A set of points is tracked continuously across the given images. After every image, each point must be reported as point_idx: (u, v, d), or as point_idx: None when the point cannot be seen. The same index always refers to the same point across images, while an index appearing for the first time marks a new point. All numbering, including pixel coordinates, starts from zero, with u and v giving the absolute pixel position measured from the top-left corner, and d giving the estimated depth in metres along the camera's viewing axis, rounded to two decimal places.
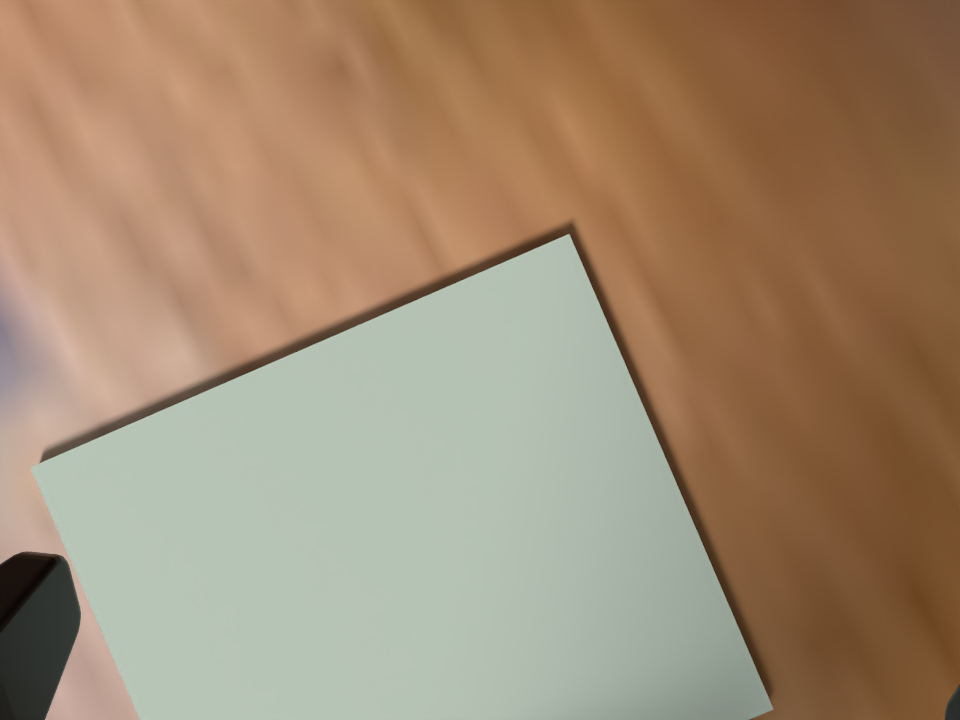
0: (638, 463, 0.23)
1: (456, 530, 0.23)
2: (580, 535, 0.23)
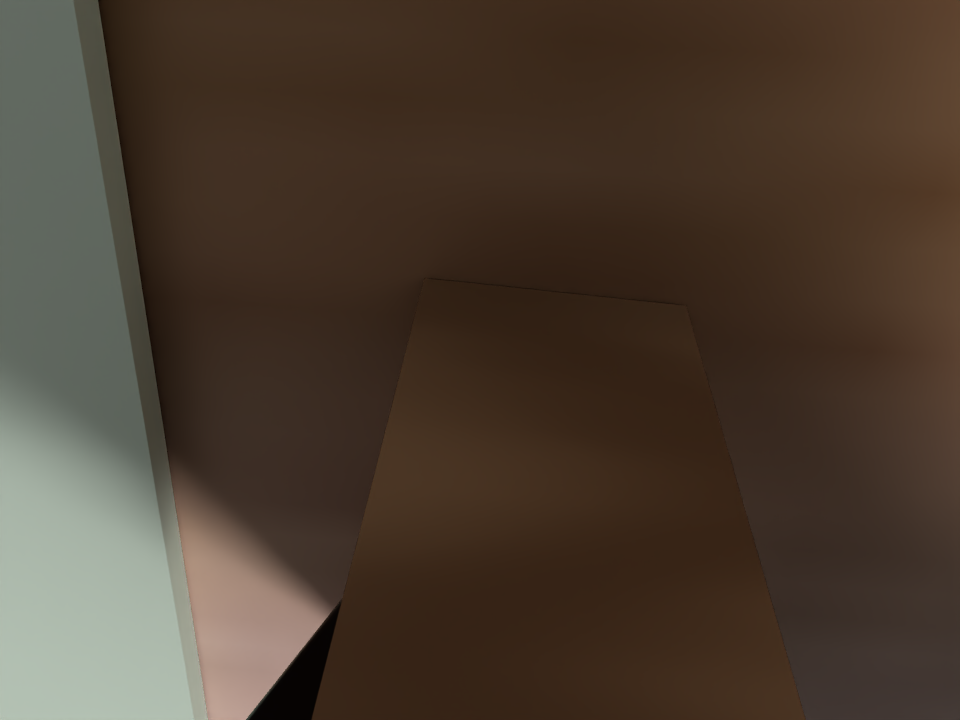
0: None
1: None
2: None
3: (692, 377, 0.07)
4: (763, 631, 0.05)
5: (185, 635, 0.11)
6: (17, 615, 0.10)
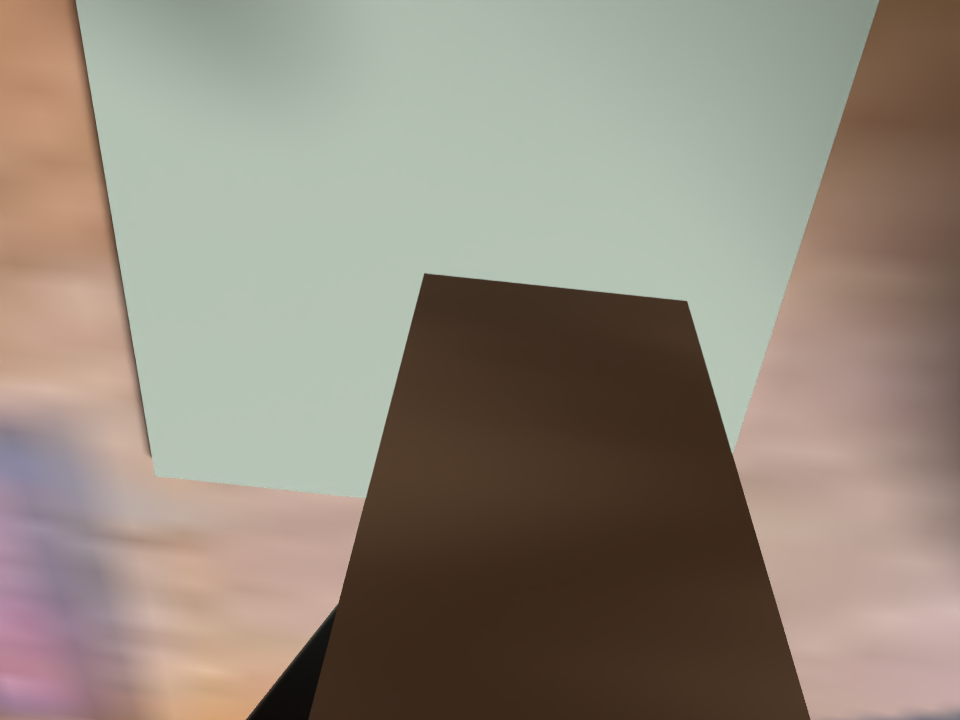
0: None
1: (414, 105, 0.16)
2: None
3: (693, 372, 0.07)
4: (765, 626, 0.05)
5: None
6: None
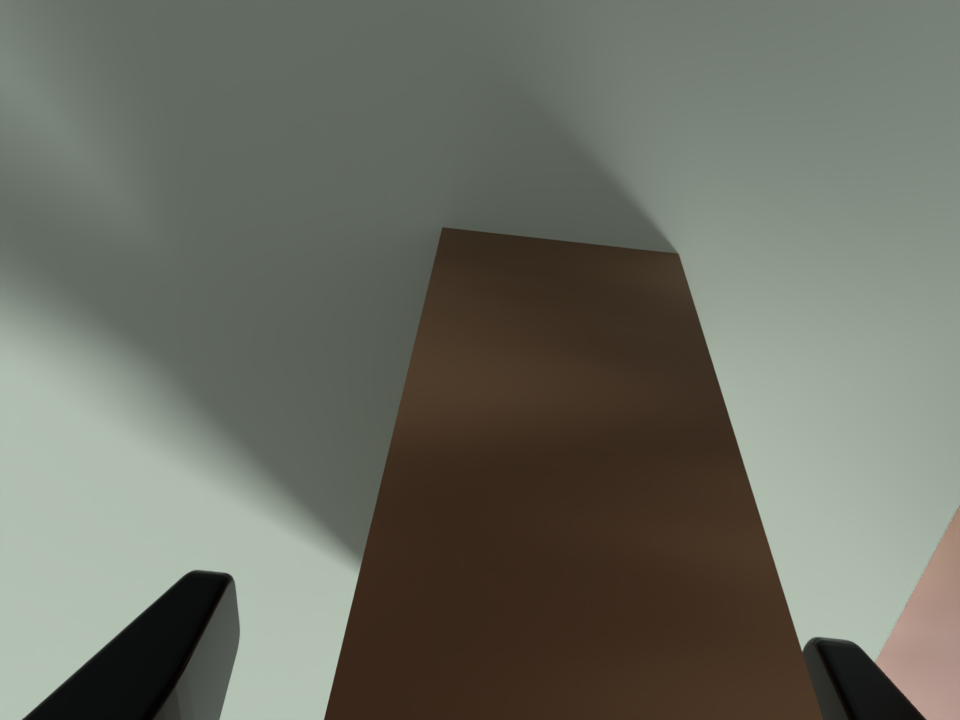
0: None
1: (331, 301, 0.09)
2: (485, 32, 0.08)
3: (684, 311, 0.08)
4: (741, 501, 0.06)
5: None
6: None
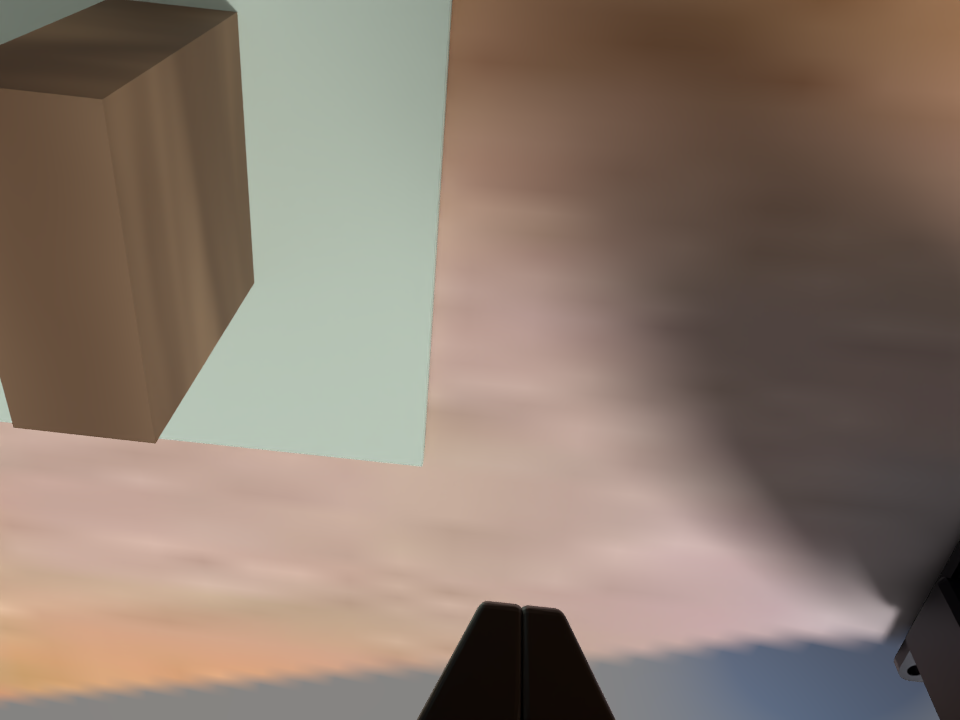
0: None
1: None
2: None
3: (211, 25, 0.15)
4: (158, 59, 0.13)
5: (433, 275, 0.20)
6: (345, 259, 0.19)
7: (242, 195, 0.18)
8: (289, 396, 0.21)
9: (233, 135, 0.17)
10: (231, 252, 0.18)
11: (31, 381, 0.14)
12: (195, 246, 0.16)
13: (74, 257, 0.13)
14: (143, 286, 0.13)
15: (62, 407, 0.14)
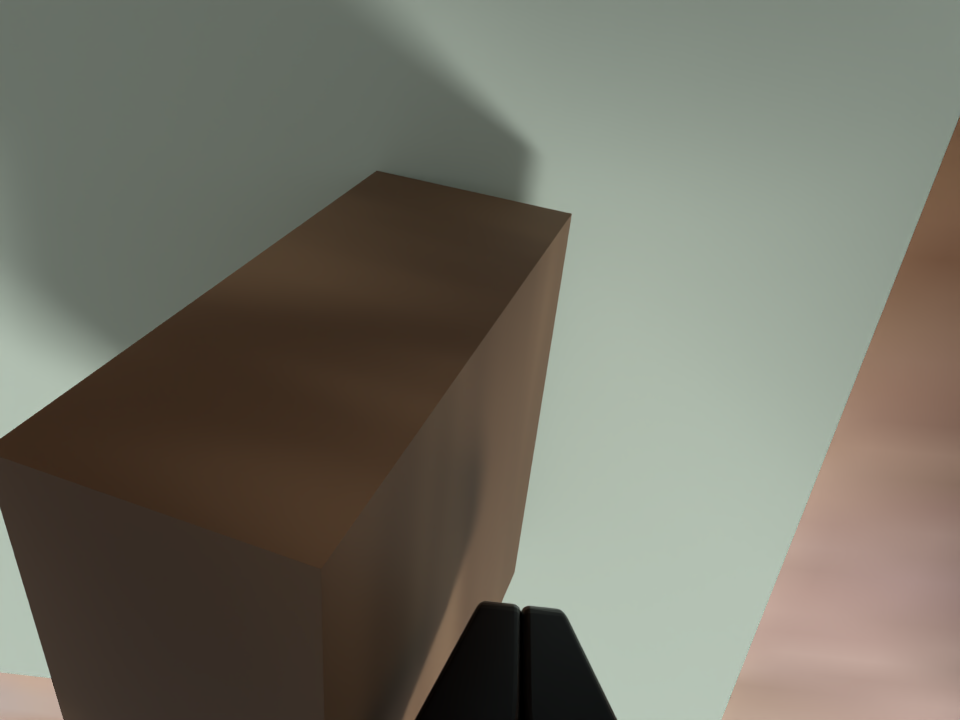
0: None
1: None
2: (403, 0, 0.09)
3: (533, 253, 0.09)
4: (443, 378, 0.07)
5: None
6: (664, 517, 0.13)
7: (524, 473, 0.11)
8: None
9: (530, 401, 0.10)
10: (494, 568, 0.11)
11: None
12: (447, 622, 0.09)
13: None
14: None
15: None
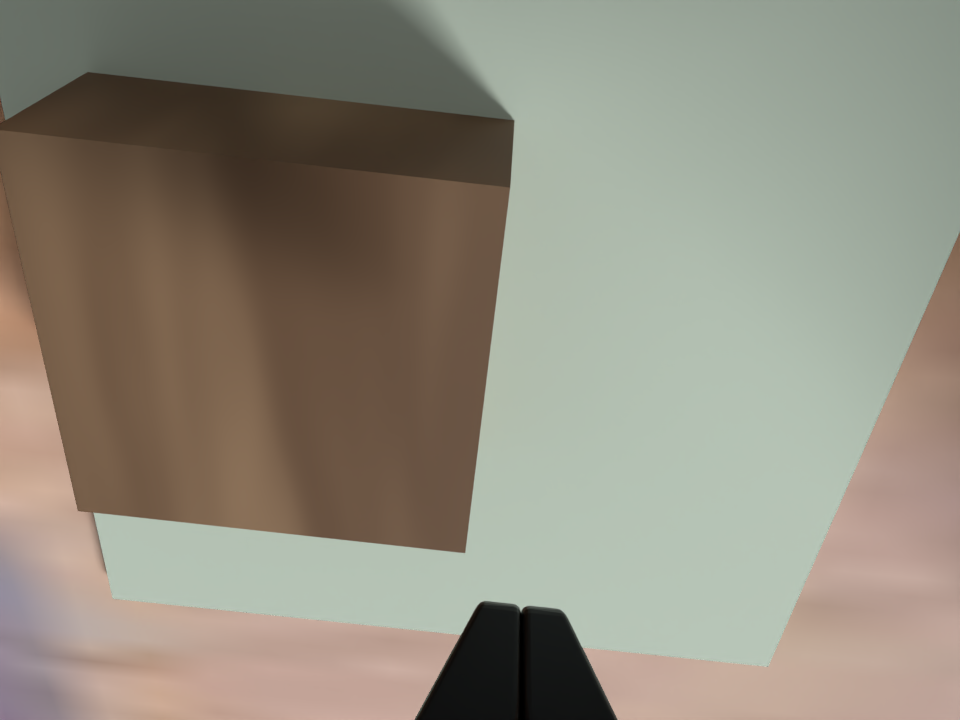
0: None
1: None
2: None
3: (407, 174, 0.10)
4: (184, 149, 0.10)
5: None
6: (745, 440, 0.15)
7: (448, 430, 0.12)
8: (620, 590, 0.17)
9: (433, 342, 0.11)
10: (376, 470, 0.12)
11: None
12: (243, 399, 0.12)
13: None
14: (72, 357, 0.11)
15: None
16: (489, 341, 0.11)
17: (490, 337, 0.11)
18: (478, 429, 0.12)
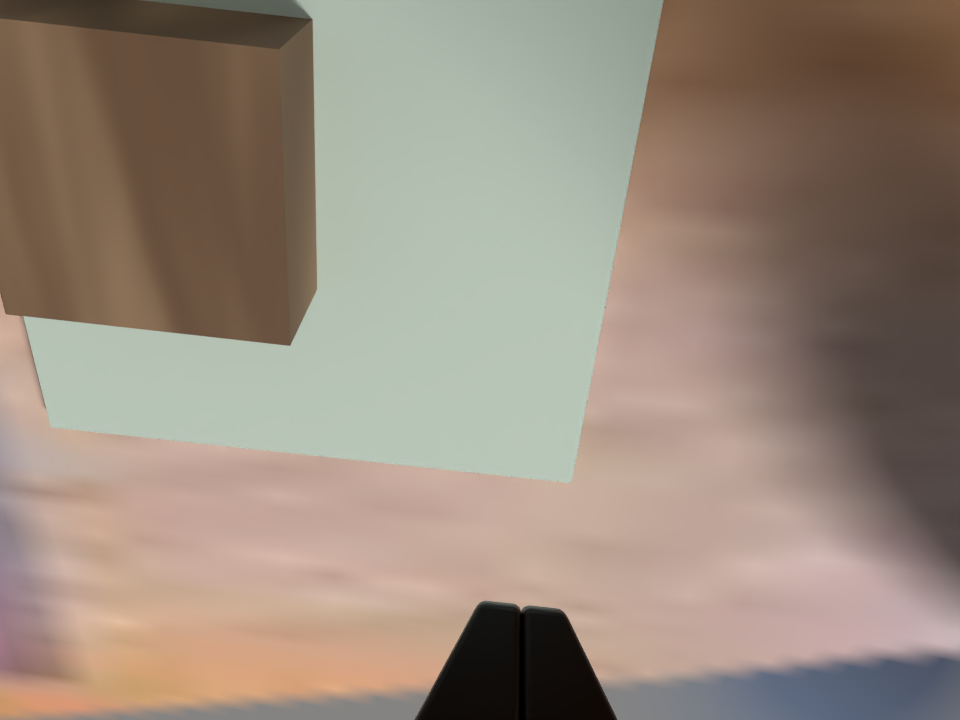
0: None
1: None
2: None
3: (210, 41, 0.14)
4: (60, 24, 0.14)
5: None
6: (519, 278, 0.19)
7: (264, 241, 0.16)
8: (445, 413, 0.21)
9: (243, 169, 0.16)
10: (217, 275, 0.17)
11: None
12: (116, 217, 0.16)
13: None
14: None
15: None
16: (282, 168, 0.16)
17: (281, 164, 0.15)
18: (285, 240, 0.16)
